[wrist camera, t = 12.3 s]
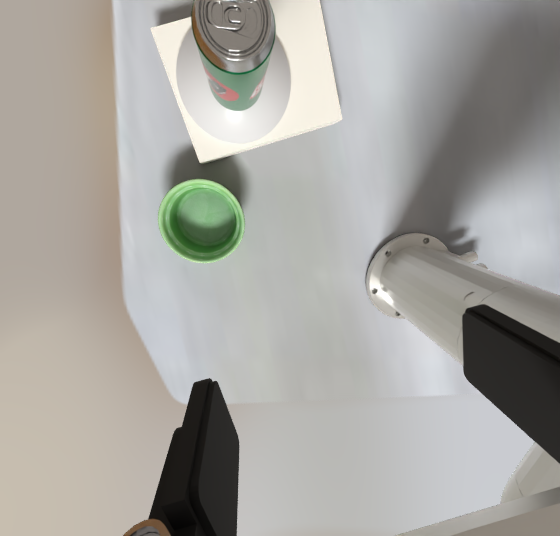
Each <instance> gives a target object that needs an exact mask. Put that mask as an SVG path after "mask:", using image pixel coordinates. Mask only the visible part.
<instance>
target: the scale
mask: <svg viewBox="0 0 560 536" xmlns="http://www.w3.org/2000/svg"><path fill="white" fill-rule="evenodd" d="M269 2H270V4H271V7H272V9H273V13H274V17H275V24H276V34H275V41H274V45H273V49H272V53H271V56H270V60H269V64H268V68H267V72H266V75H265V79H264V83H263V87H262V90H261V94H260V96H259V98H258V100H257V102H256V103H255V104H254V105H253V106H252V107H250V108H248V109H246V110H243V111H233V110H229V109H227V108H225V107H223V106H222V105H221V104H220V103H219V102H218V101H217V100H216V99H215V97H214V96H213V94H212V92H211V89H210V86H209V83H208V80H207V77H206V73H205V70H204V67H203V64H202V61H201V58H200V54H199V51H198V48H197V45H196V42H195V39H194V35H193V31H192V24H191V17H188V18H185V19H181V20H178V21H174V22H171V23H167V24H164V25H160V26H156V27H153V28H150V29H151V31H152V34H153V37H154V40H155V42H156V45H157V48H158V50H159V53H160V56H161V59H162V61H163V64H164V67H165V70H166V72H167V75H168V78H169V80H170V83H171V86H172V89H173V91H174V94H175V97H176V99H177V102H178V105H179V108H180V110H181V113H182V116H183V119H184V121H185V124H186V127H187V129H188V132H189V135H190V138H191V140H192V143H193V146H194V149H195V151H196V154H197V157H198V159H199V162H200V164H205V163H209V162H212V161H215V160H218V159H222V158H225V157H228V156H231V155H235V154H238V153H241V152H244V151H248V150H251V149H254V148H257V147H261V146H264V145H267V144H271V143H274V142H277V141H280V140H284V139H287V138H290V137H293V136H297V135H300V134H303V133H306V132H310V131H313V130H316V129H319V128H323V127H326V126H329V125H332V124H335V123H337V122H339V121H341V120H342V115H341V110H340V105H339V99H338V94H337V89H336V83H335V78H334V73H333V68H332V62H331V57H330V52H329V47H328V41H327V36H326V31H325V26H324V20H323V15H322V10H321V5H320V0H269Z"/></svg>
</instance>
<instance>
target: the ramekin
mask: <svg viewBox="0 0 560 536" xmlns="http://www.w3.org/2000/svg"><path fill="white" fill-rule="evenodd" d="M158 224H159V229H160V232H161V235H162V237H163V239H164V241H165V242H166V244H167V245H168V246H169V247H170V248H171V249H172V250H173V251H174V252H175V253H176V254H178V255H179V256H181V257H182V258H184V259H187V260H189V261H192V262H197V263H211V262H216V261H219V260H221V259H223V258H225V257H227V256H228V255H230V254H231V253H232V252H233V251H234V250H235V249H236V248H237V247H238V245H239V244H240V242H241V240H242V237H243V234H244V229H245V219H244V214H243V211H242V208H241V206H240V204H239V202H238V200H237V199H236V197H235V196H234V195H233V194H232V193H231V192H230V191H229V190H228V189H227V188H225V187H224V186H223V185H221V184H219V183H217V182H214V181H211V180H207V179H191V180H187V181H184V182H181V183H179V184H177V185H176V186H174V187H173V188H172V189H171V190H170V191H169V192H168V193H167V194H166V195H165V197H164V198H163V200H162V202H161V205H160V208H159V212H158Z"/></svg>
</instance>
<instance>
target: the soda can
mask: <svg viewBox="0 0 560 536" xmlns="http://www.w3.org/2000/svg"><path fill="white" fill-rule="evenodd" d="M191 24H192V31H193V35H194V39H195V42H196V45H197V48H198V51H199V54H200V58H201V61H202V64H203V67H204V70H205V73H206V77H207V80H208V83H209V86H210V89H211V92H212V94H213V96H214V97H215V99H216V100H217V101H218V102H219V103H220V104H221V105H222V106H223V107H225V108H227V109H229V110H233V111H243V110H246V109H248V108H250V107H252V106H253V105H254V104H255V103H256V102H257V100H258V98H259V96H260V94H261V90H262V87H263V83H264V79H265V75H266V72H267V68H268V64H269V60H270V56H271V53H272V49H273V45H274V41H275V34H276V24H275V17H274V13H273V9H272V7H271V4H270V2H269V0H194V2H193V6H192V11H191Z"/></svg>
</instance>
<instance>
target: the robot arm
mask: <svg viewBox="0 0 560 536" xmlns="http://www.w3.org/2000/svg"><path fill="white" fill-rule="evenodd" d="M385 252H386V253H385ZM477 259H478V255H477V254H476V252H474V251H471V252H468V253H465V254H463V255H460V256H459V255H456V254H454V253H451V252H449V251H448V249H447V247H446V246H445V245H444V244H443V243H442V242H441V241H440V240H438V239H437V238H435V237H432V236H430V235H426V234H423V233H409V234H404V235H401V236H398V237H396V238H395V239H393V240H391V241H389V242H388V243H387V244H385V245H384V246H383V247H382V248H381V249H380V250H379V251H378V252H377V254H376V255H375V257H374V258H373V260H372V261H371V264H370V266H369V268H368V272H367V276H366V288H367V293H368V296H369V299H370V300H371V302H372V303H373V305H374V306H375V307H376V308H377V309H378V310H379V311H381V312H382V313H383V314H385V315H387V316H389V317H393V318H398V319H407V320H408V321H409V322H411V323H412V324H413V325H414V326H415V327H417V328H418V329H419V330H420V331H421V332H423V333H424V334H425V335H426V336H427V337H429V338H430V339H431V340H432V341H433V342H434V343H436V344H437V345H438V346H439V347H440V348H442V349H443V350H444V351H445V352H446V353H448V354H449V355H450V356H451V357H452V358H454V359H455V360H456V361H457V362H458V363H459V364H461V365H462V366H463V370H464V375H465V377H466V379H467V380H468V381H469V382H470V383H471V384H472V385H473V386H474V387H475V388H476V389H478V390H479V391H480V392H481V393H482V394H483V395H484V396H485V397H486V398H487V399H489V400H490V401H491V402H492V403H493V404H494V405H495V406H496V407H497V408H499V409H500V410H501V411H502V412H503V413H504V414H505V415H506V416H507V417H509V418H510V419H511V420H512V421H513V422H514V423H515V424H517V426H518V427H519V428H521V429H522V430H523V431H524V432H525V433H526V434H527V435H528V436H529V437H530V438H532V439H533V440H534V441H535V442H534V444H533V445H532V447H531V448H530V449H529V451H528V452H527V454H526V455H525V456H524V458H523V459H522V461H521V462H520V463H519V465H518V466H517V468H516V470H515V471H514V472H513V474H512V475H511V478H510V479H509V481H508V483H507V484H506V486H505V488H504V491H503V494H502V497H501V503H500V504H499V505H496V506H492V507H489V508H486V509H482V510H479V511H476V512H472V513H469V514H466V515H462V516H459V517H455V518H452V519H449V520H446V521H442V522H439V523H435V524H432V525H429V526H426V527H422V528H419V529H416V530H412V531H409V532H406V533H402V534H399V535H396V536H560V296H559V295H557V294H554V293H551V292H548V291H545V290H543V289H540V288H537V287H535V286H532V285H529V284H526V283H524V282H521V281H518V280H515V279H513V278H510V277H507V276H505V275H502V274H499V273H496V272H494V271H491V270H488V268H487V267H486V266H485V265H484V264H481V263H479V264H476V265H475V264H472V263H471V262H474V261H476V260H477ZM238 471H239V439H238V435H237V432H236V429H235V427H234V424H233V422H232V419H231V416H230V414H229V411H228V409H227V406H226V403H225V400H224V398H223V395H222V392H221V390H220V387H219V385H218V382H217V381H214V382H212V380H211V379H210V378H209V379H205V380H201V381H198V382H195V383H194V384H193V387H192V391H191V394H190V398H189V402H188V406H187V410H186V413H185V417H184V421H183V425H182V427H180V428H177V429H176V430H175V431H174V434H173V437H172V440H171V444H170V447H169V451H168V454H167V457H166V461H165V464H164V468H163V471H162V474H161V478H160V481H159V484H158V488H157V491H156V495H155V498H154V502H153V505H152V509H151V512H150V515H149V519H148V520H144V521H142V522H140V523H138V524H136V525H134V526H133V527H132V528H131V529H130V530H128V531H127V532H126V533H125V534H124V535H123V536H237V535H236V534H237V504H238V502H237V501H238Z"/></svg>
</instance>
